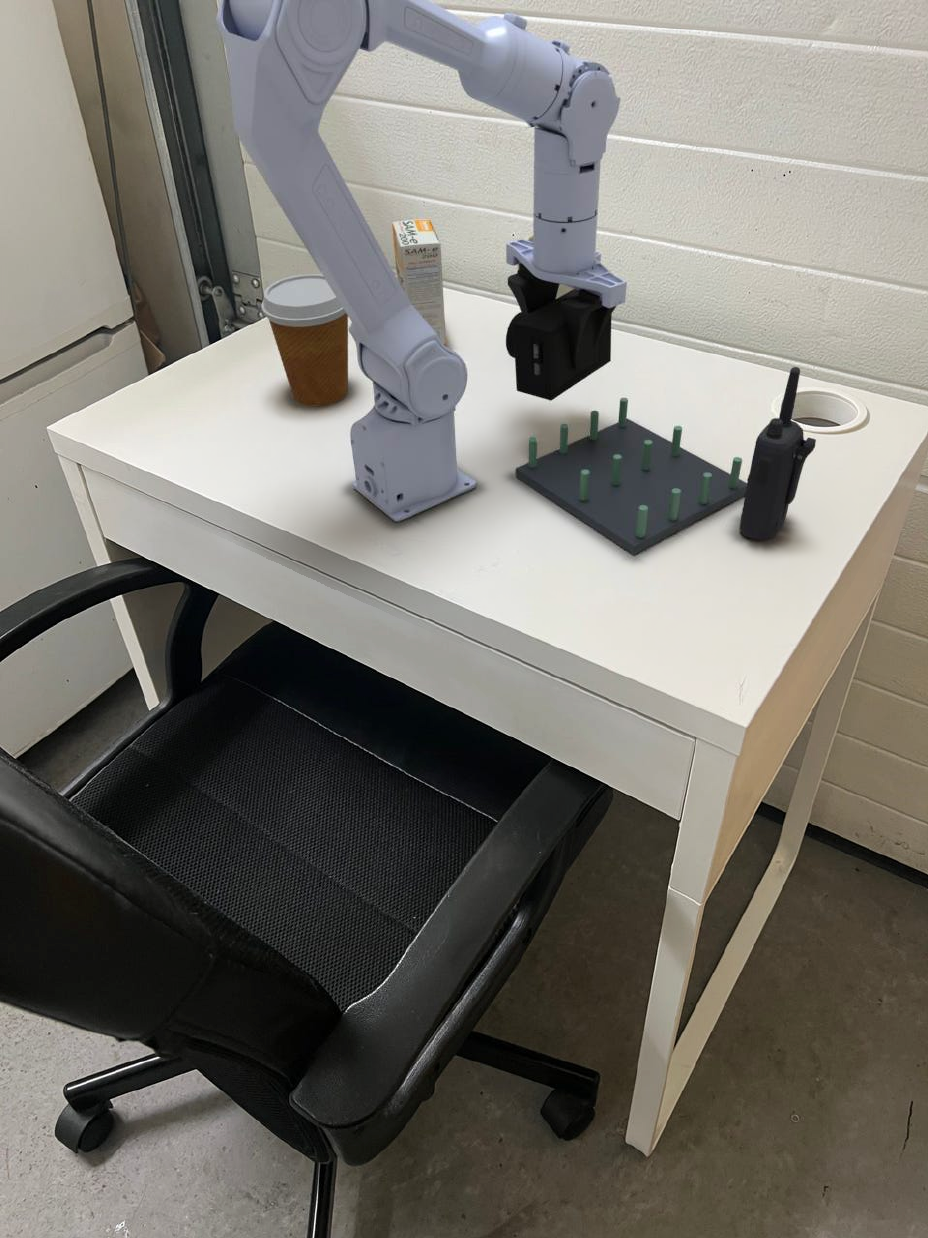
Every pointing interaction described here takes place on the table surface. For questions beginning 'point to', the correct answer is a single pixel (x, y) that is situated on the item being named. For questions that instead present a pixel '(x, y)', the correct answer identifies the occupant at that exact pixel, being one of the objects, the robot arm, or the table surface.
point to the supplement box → (421, 270)
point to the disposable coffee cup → (310, 337)
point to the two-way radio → (775, 469)
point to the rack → (631, 481)
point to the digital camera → (550, 350)
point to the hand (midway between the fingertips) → (560, 354)
